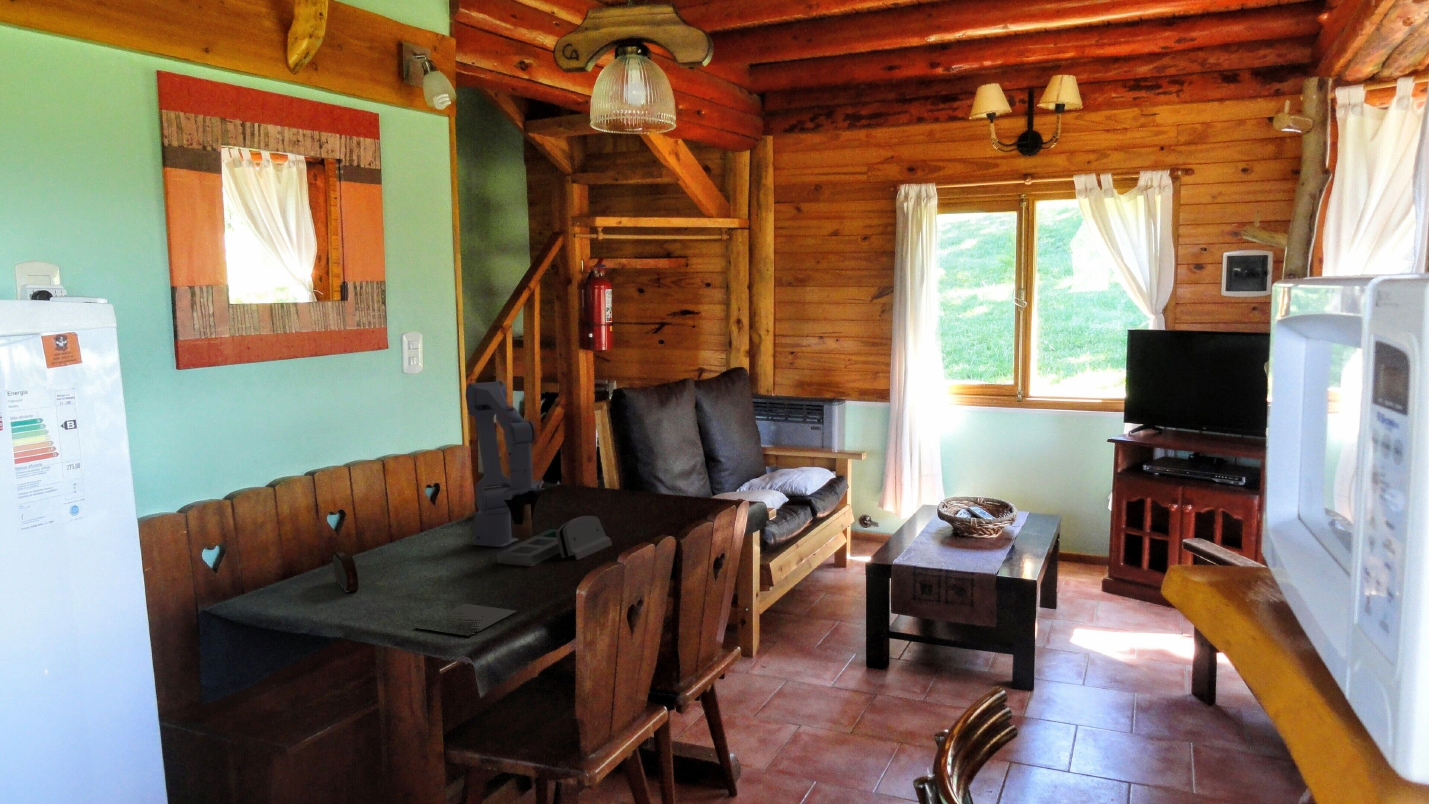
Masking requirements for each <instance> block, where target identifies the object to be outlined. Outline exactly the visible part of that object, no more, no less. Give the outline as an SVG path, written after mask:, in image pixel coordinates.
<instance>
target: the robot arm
mask: <svg viewBox="0 0 1429 804" xmlns="http://www.w3.org/2000/svg"><path fill="white" fill-rule="evenodd" d="M507 391H508V390H507V386H506V384H505V383H504V382H503V380H498V381H489V382H488V381H487V382H476V383H474V382H469V383H468V384H467V386H466V389H465V400H466V401H465V402H466V408H467V411H468V415H470V416H472V417H473V418H474V420H475V425H476V426H475V427H476V430H477V431H476V432H477V437H478V439H477V440H478V445H479V450H480V457H481V458H480V459H481V463H482V464H481V465H482V471H483V477H482V478H481V479H480V480H479V481H478V482H477V483H476V485H475V489H474V490H475V504H476V507H477V509H478V511H477V512H476V514H475V515H474V518H473V528H474V529H473V530H474V531H473V532H474V533H473V534H474V542H472V544H473V546H484V547H493V548H494V547H496V548H505V547H507V546H509V545H511V544H513V543H515V542H517V541H519V538H518V537H517V538H515V537H513V536H512V521H513V523H514V525H515V524H518V525H522V524H523V517H524V507H525V503H530V504H531V521H533V517H534V513H535V510H536V504H537V502H538V499H539V497H540V496H541V491H539V490H541V481H540V480H534V478H533V477H534V476H533V475H534V473H533V472H534V471H533V451H532V450H533V449H532V447H533V446H532V444H534V442H535V438H536V431H535V427H534V424H533V422H532V421H531V420H527V419H523V417H522V415H521V414H520V413H519V411H518V409H517V408H515V407H514V406H513V405H510V404H509V402H508V400H507V397H508V392H507ZM495 415H496V416H495ZM494 417H496V418H495V419H496V421H497V423H498V424H499V426H500V427H501V429H502V432H504V433H503V437H504V442H505V446H506V452H507V453H508V464H509V466H508V469H509V476H507V475H504V474H503V469H502V464H501V458H500V457H501V456H500V452H499V445H498V439H497V433H496V425H495V419H494ZM511 517H512V519H511Z"/></svg>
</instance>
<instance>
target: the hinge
mask: <svg viewBox="0 0 1429 804" xmlns="http://www.w3.org/2000/svg"><path fill="white" fill-rule="evenodd" d="M557 530H558V531H557V532H556V537H557V541H558V545H559V549H560V552H559V553H560V557H561V559H565V558H567V557H571V556H574V557H575V560H580V559H581V560H582V558H586V557H587V556H589V555H592V554H595V553H596V552H599V551H602V550H603V549H605V548H608V547H611V546H613V542H612V539H611V538H610V537H609V536H608V535H606V533H605V530H604V528H603V526H602V523H601V520H600V518H599V517H598V516H594V515H584V516H579V517H576V518H573V519H570V520H568V521H566V522H565V523H564V524H562V526H560V527H559V528H558V529H557Z"/></svg>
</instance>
